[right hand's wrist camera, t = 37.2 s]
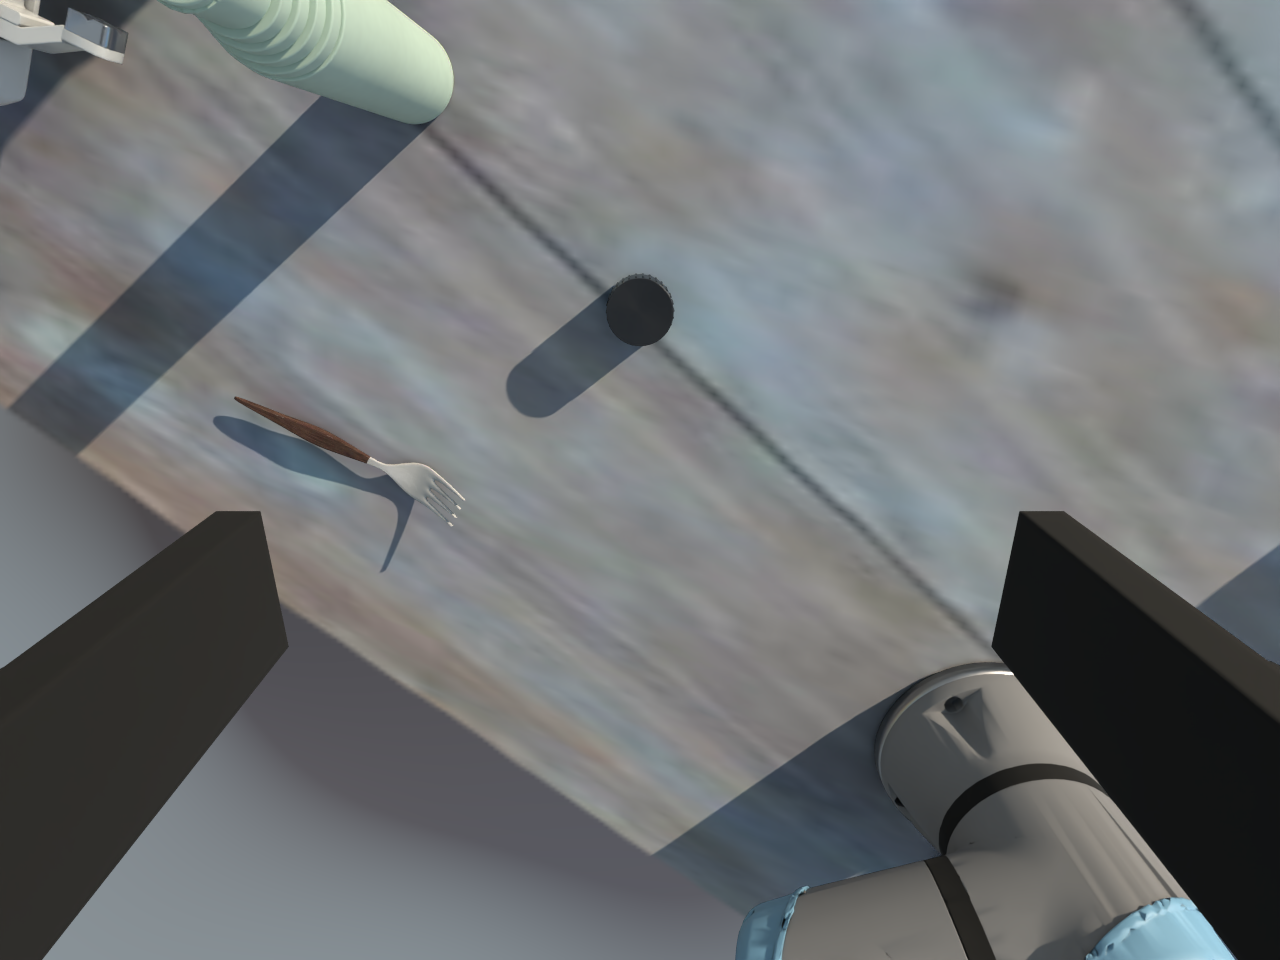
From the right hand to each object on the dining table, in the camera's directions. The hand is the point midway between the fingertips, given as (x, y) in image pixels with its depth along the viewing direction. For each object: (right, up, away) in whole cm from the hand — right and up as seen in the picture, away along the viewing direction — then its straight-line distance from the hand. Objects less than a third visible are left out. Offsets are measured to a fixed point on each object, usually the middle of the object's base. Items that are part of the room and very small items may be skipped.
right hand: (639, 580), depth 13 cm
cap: (0, +12, +30) cm, 33 cm away
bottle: (-13, +24, +28) cm, 39 cm away
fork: (-19, +4, +36) cm, 41 cm away
